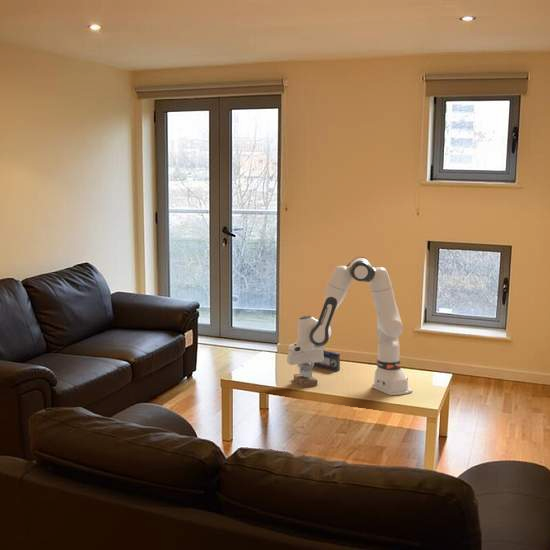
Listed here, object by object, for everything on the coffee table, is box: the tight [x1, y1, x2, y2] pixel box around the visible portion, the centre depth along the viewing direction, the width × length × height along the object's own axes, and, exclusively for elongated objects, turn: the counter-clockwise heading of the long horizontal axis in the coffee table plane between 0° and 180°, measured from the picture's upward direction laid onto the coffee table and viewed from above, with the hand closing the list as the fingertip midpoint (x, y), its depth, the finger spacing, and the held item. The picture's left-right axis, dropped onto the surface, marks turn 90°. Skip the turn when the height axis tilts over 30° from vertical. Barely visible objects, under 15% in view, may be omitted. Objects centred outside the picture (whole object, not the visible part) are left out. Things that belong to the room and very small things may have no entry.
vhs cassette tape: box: [313, 350, 341, 372], centre depth 391 cm, size 18×3×10 cm, turn 48°
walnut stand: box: [293, 373, 318, 388], centre depth 364 cm, size 14×8×3 cm, turn 20°
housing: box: [298, 363, 313, 377], centre depth 363 cm, size 4×8×6 cm, turn 20°
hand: (305, 370), depth 364 cm, fingers closed on housing, 4 cm apart
